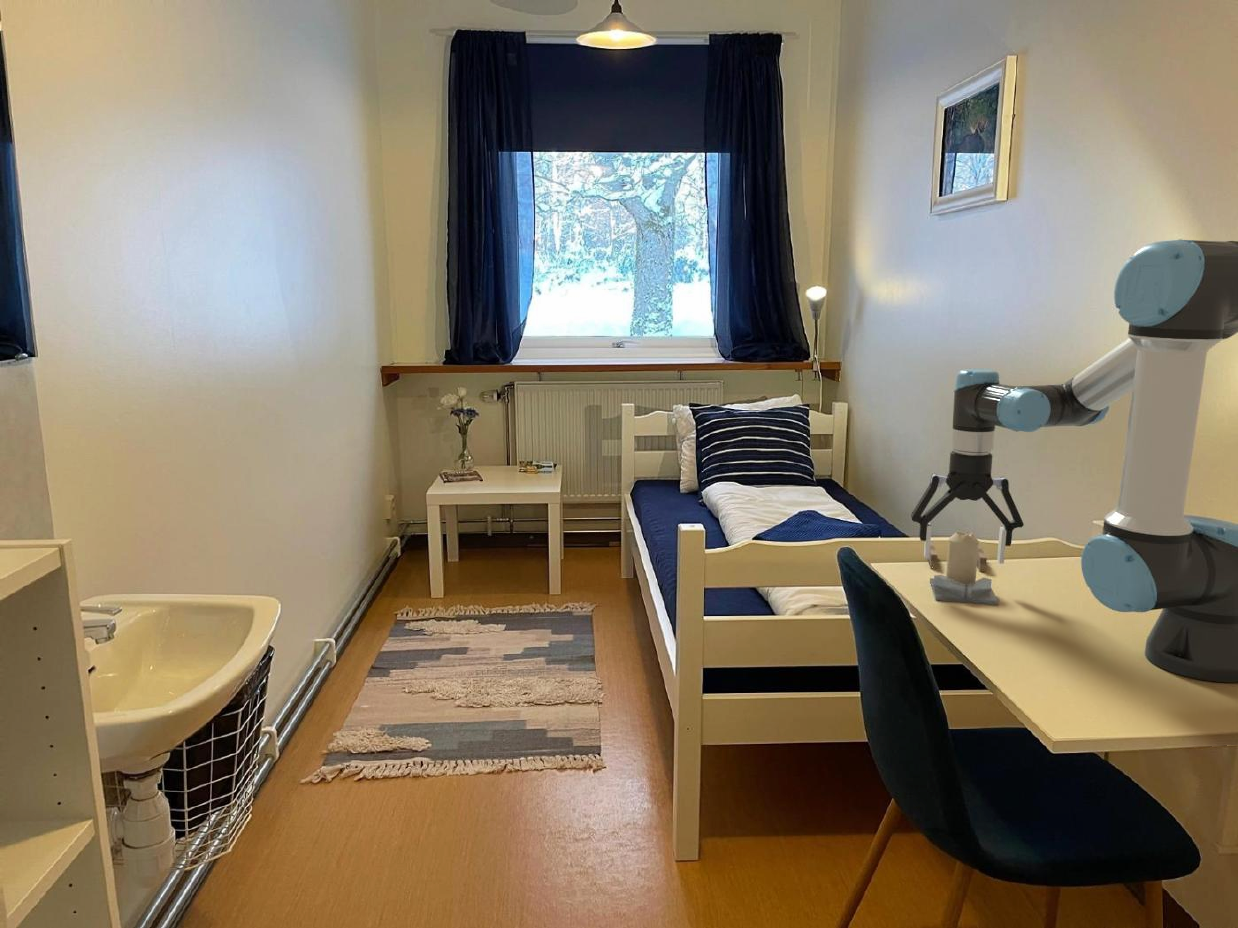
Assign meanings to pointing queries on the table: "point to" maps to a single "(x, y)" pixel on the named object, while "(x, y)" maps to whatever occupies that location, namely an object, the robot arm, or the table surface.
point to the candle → (962, 557)
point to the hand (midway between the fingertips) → (963, 559)
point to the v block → (963, 590)
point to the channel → (980, 559)
